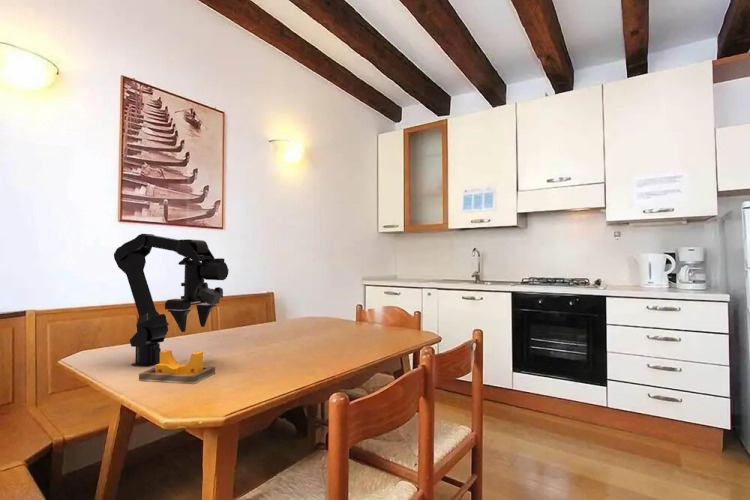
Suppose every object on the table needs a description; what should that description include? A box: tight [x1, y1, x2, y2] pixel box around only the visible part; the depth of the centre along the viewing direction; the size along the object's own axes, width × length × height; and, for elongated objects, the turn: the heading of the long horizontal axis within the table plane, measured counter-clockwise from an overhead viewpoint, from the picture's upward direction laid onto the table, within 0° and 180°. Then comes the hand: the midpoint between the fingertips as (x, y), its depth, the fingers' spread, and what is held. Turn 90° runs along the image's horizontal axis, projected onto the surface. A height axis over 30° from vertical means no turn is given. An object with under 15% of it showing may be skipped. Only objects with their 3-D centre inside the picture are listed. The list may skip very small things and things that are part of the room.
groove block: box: [138, 365, 216, 385], centre depth 112 cm, size 17×10×2 cm, turn 81°
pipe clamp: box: [154, 349, 204, 375], centre depth 112 cm, size 12×4×6 cm, turn 81°
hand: (193, 329), depth 122 cm, fingers open, 9 cm apart
